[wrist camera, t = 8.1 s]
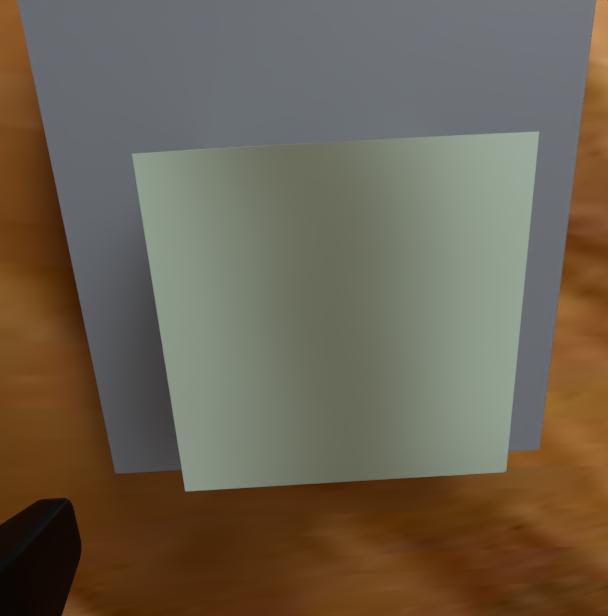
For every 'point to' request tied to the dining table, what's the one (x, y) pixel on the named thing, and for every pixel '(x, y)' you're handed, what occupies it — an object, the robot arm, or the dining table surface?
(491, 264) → the green cube
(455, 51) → the plinth
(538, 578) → the dining table surface
